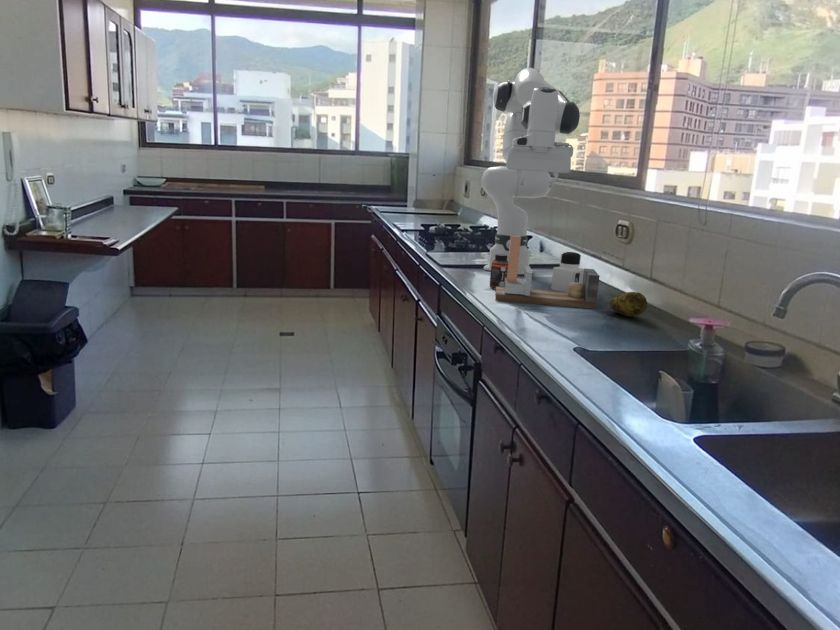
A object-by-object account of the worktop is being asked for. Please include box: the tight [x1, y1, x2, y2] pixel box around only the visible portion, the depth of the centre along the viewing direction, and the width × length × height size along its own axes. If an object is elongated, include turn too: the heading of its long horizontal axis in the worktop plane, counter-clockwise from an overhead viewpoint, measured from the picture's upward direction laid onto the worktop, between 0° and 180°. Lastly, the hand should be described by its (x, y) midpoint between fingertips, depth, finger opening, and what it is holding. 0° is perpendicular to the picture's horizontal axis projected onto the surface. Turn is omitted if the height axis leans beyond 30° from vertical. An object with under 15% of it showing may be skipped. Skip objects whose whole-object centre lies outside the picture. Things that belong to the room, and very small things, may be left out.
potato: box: [609, 291, 648, 318], centre depth 193 cm, size 8×13×8 cm, turn 179°
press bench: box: [494, 268, 600, 310], centre depth 208 cm, size 12×30×10 cm, turn 84°
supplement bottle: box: [489, 254, 508, 290], centre depth 223 cm, size 6×6×11 cm
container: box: [550, 251, 585, 292], centre depth 226 cm, size 8×8×13 cm
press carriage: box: [504, 235, 533, 296], centre depth 208 cm, size 12×8×17 cm, turn 174°
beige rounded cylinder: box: [568, 282, 584, 298], centre depth 208 cm, size 4×4×4 cm
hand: (536, 186), depth 214 cm, fingers open, 8 cm apart
